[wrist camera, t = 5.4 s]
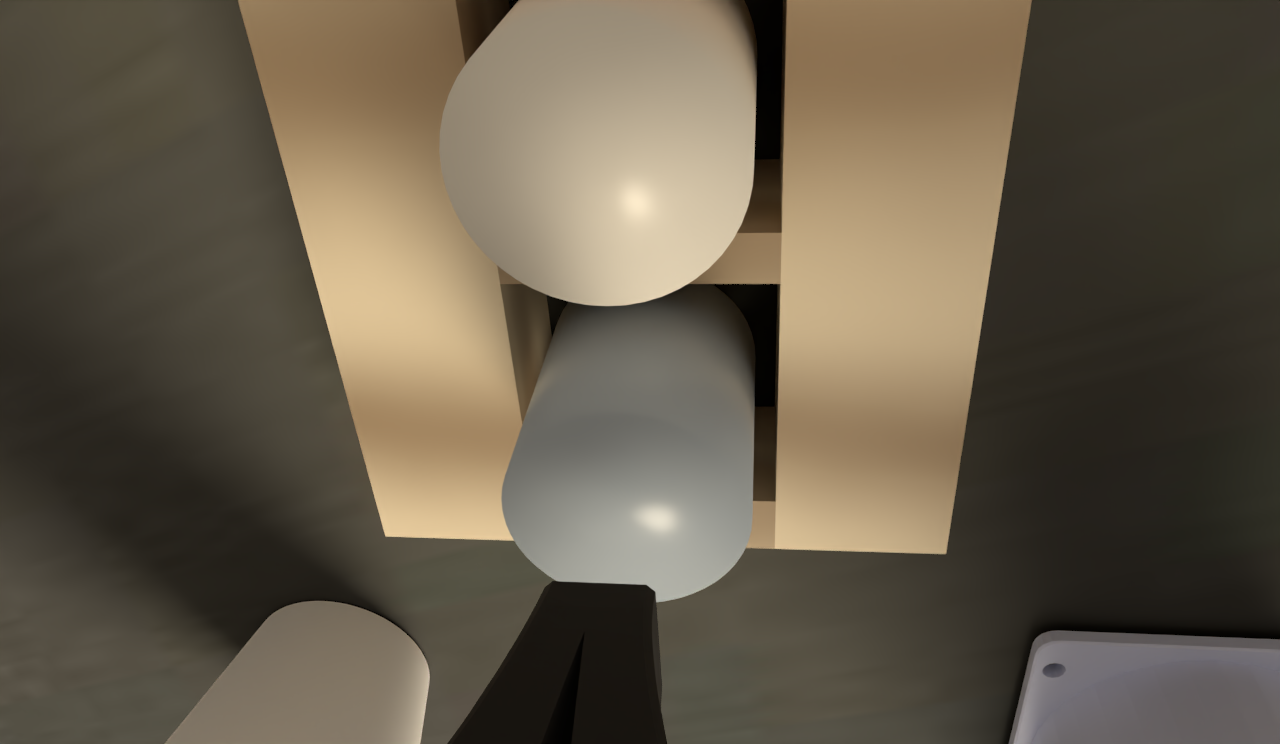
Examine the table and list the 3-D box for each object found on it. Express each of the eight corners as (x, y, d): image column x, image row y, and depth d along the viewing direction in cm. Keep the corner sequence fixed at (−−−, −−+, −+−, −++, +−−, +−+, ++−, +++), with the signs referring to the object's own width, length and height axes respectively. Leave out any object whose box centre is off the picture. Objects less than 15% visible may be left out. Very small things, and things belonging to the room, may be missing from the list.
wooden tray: (925, 454, 21) (945, 553, 19) (427, 444, 22) (385, 536, 20) (1085, -801, 11) (1179, -947, 9) (171, -683, 12) (23, -779, 10)
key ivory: (756, 172, 16) (753, 306, 13) (531, 175, 17) (465, 305, 13) (758, -78, 14) (754, -2, 11) (500, -66, 15) (412, 11, 11)
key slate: (754, 437, 19) (751, 607, 16) (564, 434, 20) (518, 598, 16) (755, 264, 17) (752, 414, 14) (542, 265, 18) (484, 410, 14)
